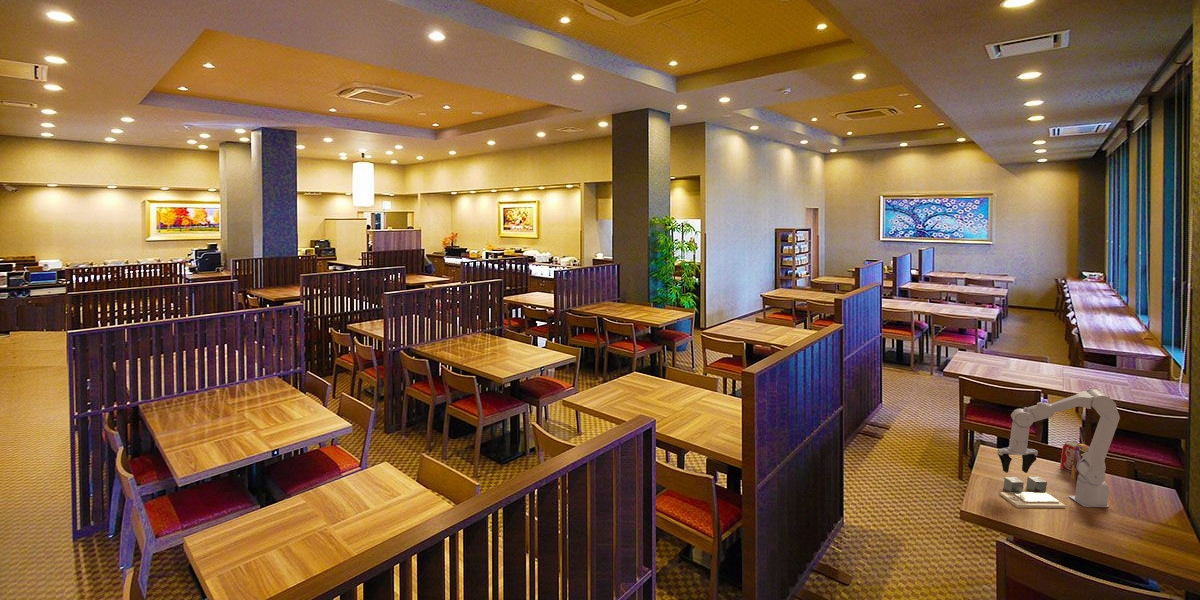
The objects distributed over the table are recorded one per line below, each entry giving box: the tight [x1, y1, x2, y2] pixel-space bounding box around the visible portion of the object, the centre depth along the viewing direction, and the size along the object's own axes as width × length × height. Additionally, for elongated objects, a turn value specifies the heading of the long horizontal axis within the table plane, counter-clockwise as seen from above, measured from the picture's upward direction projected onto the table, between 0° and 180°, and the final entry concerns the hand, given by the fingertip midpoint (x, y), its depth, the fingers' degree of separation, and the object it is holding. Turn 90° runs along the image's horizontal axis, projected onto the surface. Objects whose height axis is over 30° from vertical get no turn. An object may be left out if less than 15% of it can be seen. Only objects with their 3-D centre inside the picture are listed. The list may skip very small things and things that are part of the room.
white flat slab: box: [1012, 491, 1060, 503], centre depth 229 cm, size 13×7×1 cm, turn 89°
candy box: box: [1070, 443, 1090, 482], centre depth 242 cm, size 9×4×15 cm, turn 12°
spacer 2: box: [1025, 476, 1048, 493], centre depth 236 cm, size 4×4×5 cm
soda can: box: [1060, 440, 1080, 473], centre depth 254 cm, size 7×7×12 cm
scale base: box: [999, 491, 1066, 509], centre depth 228 cm, size 18×10×1 cm, turn 89°
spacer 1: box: [1003, 476, 1025, 492], centre depth 236 cm, size 4×4×5 cm
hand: (1014, 471), depth 235 cm, fingers open, 7 cm apart
